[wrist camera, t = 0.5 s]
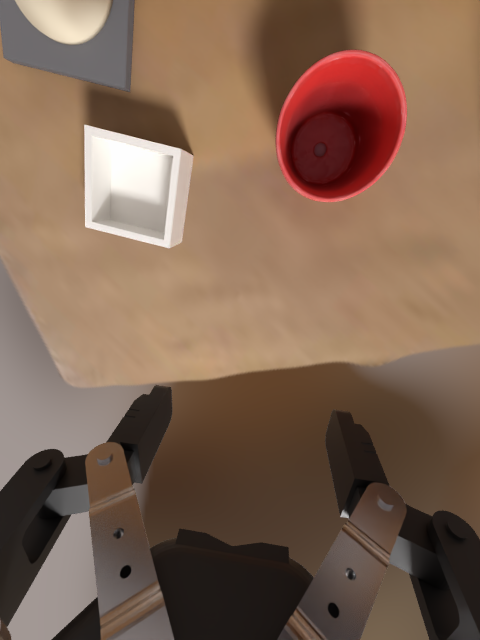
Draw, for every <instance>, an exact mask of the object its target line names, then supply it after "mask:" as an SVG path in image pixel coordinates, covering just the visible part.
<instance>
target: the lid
mask: <svg viewBox="0 0 480 640" xmlns="http://www.w3.org/2000/svg"><path fill="white" fill-rule="evenodd" d="M15 2H16V3H17V5H18V7H19V8H20V10H21V11H22V13H23V14H24V15H25V17H26V18H27V19H28V20H29V21H30V23H31V24H32V25H33V26H34V27H36V28H37V29H38V30H39V31H40V32H42V33H43V34H45V35H46V36H48V37H49V38H50V39H52V40H54V41H56V42H59V43H62V44H66V45H79V44H83V43H85V42H88V41H89V40H91V39H93V38H94V37H95V36H96V35H97V34H98V33H99V32H100V31H101V29H102V28H103V27H104V25H105V23H106V21H107V19H108V17H109V14H110V11H111V8H112V4H113V0H15Z"/></svg>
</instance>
